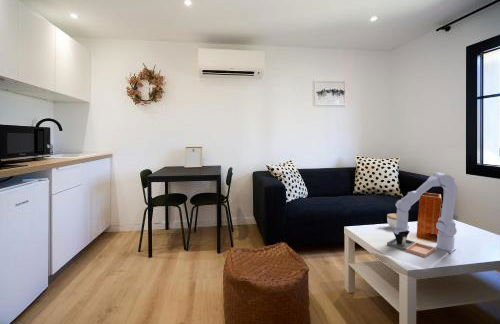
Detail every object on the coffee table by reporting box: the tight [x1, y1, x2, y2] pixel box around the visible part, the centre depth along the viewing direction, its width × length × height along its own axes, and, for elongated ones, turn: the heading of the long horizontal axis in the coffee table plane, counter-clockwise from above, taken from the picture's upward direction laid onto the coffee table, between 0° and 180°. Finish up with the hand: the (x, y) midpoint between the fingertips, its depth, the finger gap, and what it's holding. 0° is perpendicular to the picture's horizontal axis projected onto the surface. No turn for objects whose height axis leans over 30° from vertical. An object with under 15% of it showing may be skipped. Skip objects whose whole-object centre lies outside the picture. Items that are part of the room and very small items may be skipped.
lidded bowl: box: [386, 212, 397, 230], centre depth 177 cm, size 13×13×11 cm
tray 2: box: [405, 241, 436, 258], centre depth 140 cm, size 14×10×2 cm
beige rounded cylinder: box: [397, 236, 407, 246], centre depth 148 cm, size 4×4×5 cm
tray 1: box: [386, 237, 416, 252], centre depth 148 cm, size 14×10×2 cm
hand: (401, 243), depth 148 cm, fingers closed on beige rounded cylinder, 4 cm apart
